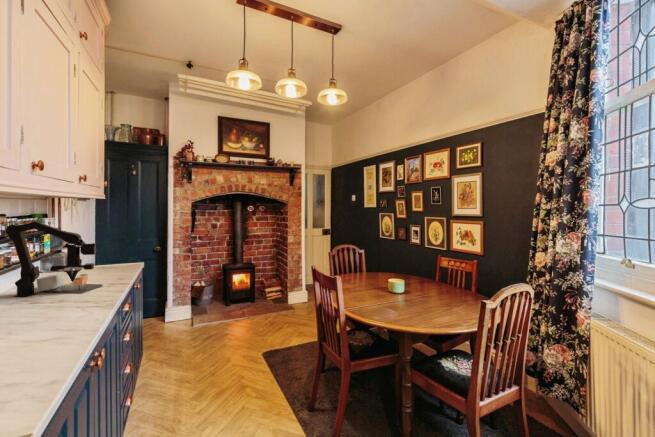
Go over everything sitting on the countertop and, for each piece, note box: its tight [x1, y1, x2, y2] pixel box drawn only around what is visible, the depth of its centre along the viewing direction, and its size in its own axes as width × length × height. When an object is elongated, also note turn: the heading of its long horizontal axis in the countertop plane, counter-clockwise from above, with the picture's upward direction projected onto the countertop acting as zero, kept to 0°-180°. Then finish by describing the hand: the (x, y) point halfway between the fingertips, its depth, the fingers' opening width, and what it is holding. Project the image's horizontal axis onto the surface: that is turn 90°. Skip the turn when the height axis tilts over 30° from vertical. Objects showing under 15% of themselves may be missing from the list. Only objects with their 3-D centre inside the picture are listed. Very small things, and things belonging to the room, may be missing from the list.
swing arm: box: [72, 273, 89, 286], centre depth 179 cm, size 16×4×3 cm, turn 28°
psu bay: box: [46, 281, 103, 294], centre depth 178 cm, size 16×20×4 cm
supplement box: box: [36, 273, 65, 292], centre depth 176 cm, size 7×7×13 cm
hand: (72, 281), depth 173 cm, fingers closed
